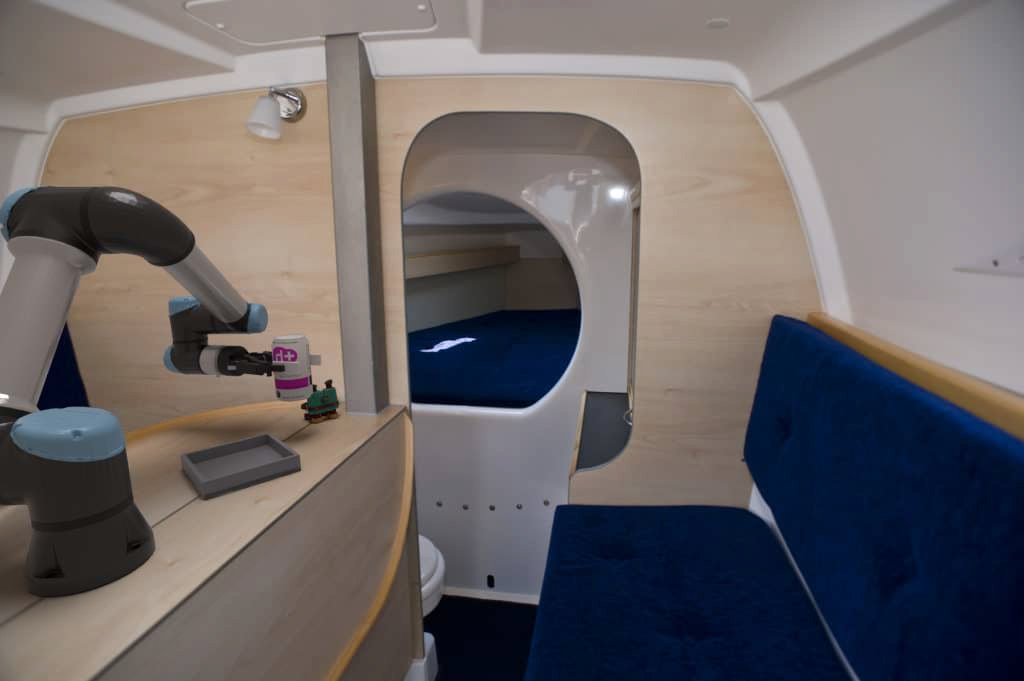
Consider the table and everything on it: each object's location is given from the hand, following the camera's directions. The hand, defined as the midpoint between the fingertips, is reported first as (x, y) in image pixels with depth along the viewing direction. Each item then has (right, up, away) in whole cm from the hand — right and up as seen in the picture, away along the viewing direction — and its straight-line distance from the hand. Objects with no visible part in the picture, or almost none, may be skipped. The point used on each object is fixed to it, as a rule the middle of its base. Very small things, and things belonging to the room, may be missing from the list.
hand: (309, 363), depth 122 cm
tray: (-9, -22, -13) cm, 27 cm away
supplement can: (-5, -8, +3) cm, 10 cm away
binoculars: (-5, -16, +19) cm, 25 cm away
